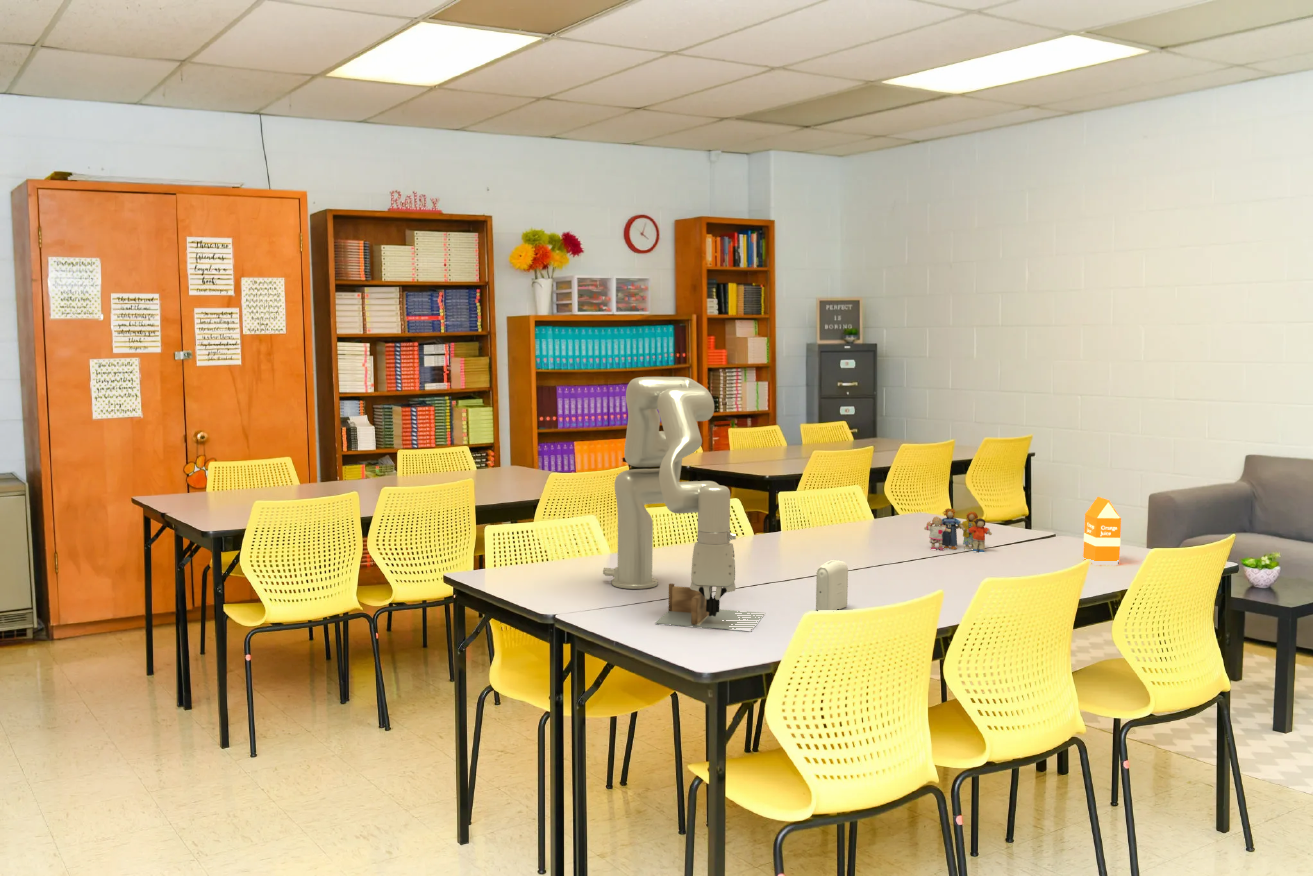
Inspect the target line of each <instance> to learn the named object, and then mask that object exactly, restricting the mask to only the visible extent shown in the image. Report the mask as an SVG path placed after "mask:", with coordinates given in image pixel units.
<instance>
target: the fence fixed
mask: <svg viewBox="0 0 1313 876" xmlns="http://www.w3.org/2000/svg"><path fill="white" fill-rule="evenodd" d="M710 591H711V595H712V596H713V587H710ZM699 593H700V592H699V591H695V590H692V589H690V586H677V585H676V586H675V583H668V605H667V609H668V610H667V612H668V611H675V612H688V613H691V607H692V598H693V597H695V596H696V595H697V594H699Z"/></svg>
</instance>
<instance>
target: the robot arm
mask: <svg viewBox="0 0 1313 876" xmlns="http://www.w3.org/2000/svg"><path fill="white" fill-rule="evenodd" d="M625 401H626V407H627V413H628V415H627V416H628V419H627V426H626V433H625V434H626V435H625V443H624V459H625V462H626V463H627V465H629V466H631V467H637V468H636V469H628V470H623V471H621V472H619V474H618V475H617V476H616V477H615V480H614V493H615V499H616V507H617V509H616V510H617V566H616V567H614V568H611V567H604V568H603V570H602V574H603V575H604V576H605V577H611V576H612V577H613V578H612V580H611V585H612V586H614V587H616V588H620V589H627V590H628V589H629V590H641V589H642V590H644V589H650V588H655V587H656V586H658V585H659V581H658V579H657V578H655V577H653V551H654V550H653V548H654V547H653V546H654V545H653V538H654V531H653V530H654V524H653V517H652V516H651V514H650V513H649V511H648V510H647V509H646V507H645V505H652V504H654V505H655V504H664V505H665V506H666V508H667V510H668V511H670V512H671V513H673V514H694V513H697V541H696V542H695V543H694V545H693V551H692V552H693V553H692V557H691V573H690V575H691V576H690V577H691V582H690V586H689V587H690V589H692V590H695V591H699V592H700V593H701V594H702V595H703V596H704V597H705V599H706V612H709V616H716V614H717V612H719V609H720V599H721V598H722V597H723V596H724V595H725V594H727V593H732V592H735V591H736V589H737V587H736V582H735V580H736V558H735V548H734V545H733V544H734V543H732V542H731V541H732V540H736V539H737V534H736V533H734V532H731V530H730V529H731V521H730V520H731V491H730V489H729V487H728V486H725V485H720V484H719V483H717V482H716V481H713V480H700V481H698V480H693V481H692V480H691V481H680V478H681V473H682V472H681V471H682V464H683V459H684V458H686V457H688V456H689V455H692V454H694V453H695V452H697V450H699V449H700V448H701V446H702V443H703V438H702V435H701V433H700V428H699V426H698V425H699V424H698V422H705V421H709V420H710V419H712V417H713V415H714V412H715V402H714V398H713V396H712V394H711V392H710V391H709V390H708V389H707V388H706V387H705V386H704V385H702V384H700V383H699V382H697V381H696V380H694V379H692V378H690V377H685V376H643V377H642V376H640V377H635V378H633V379H631V380H630V381H629V382H628V384H627V387H626V391H625ZM660 423H661V426H662V429H663V430H661V431H660ZM652 467H653V468H652ZM654 467H658V468H654ZM710 587H712V588H713V587H715V594H714V596H713V594H712V595H711V591H710Z"/></svg>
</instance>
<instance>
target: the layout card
mask: <svg viewBox="0 0 1313 876" xmlns="http://www.w3.org/2000/svg"><path fill="white" fill-rule="evenodd" d="M737 611H738V612H737ZM740 611H741V610H732V609H720V608H719V612H717V614H716V616H709V615H707V616H706V617H705V618H704V619H702V620H701V621H700V622H699V623H697V624H691V613H688V612H675V611H668V610H667V612H666V613H665V614H664V615H662V616H661V617H660V618H659V619H657V620H656V621H655V622H654V624H655V623H657V624H656V625H659V624H671V625H670V626H672V625H679V626H678V627H684V626H693V627H692V628H697V627H702V628H701V629H709V628H720V629H719V630H721V629H732V628H734V629H736V628H753V627H729V626H755V625H735V624H757V623H737V622H756V621H726V620H739V619H740V620H743V619H746V620H747V619H748V620H759V619H761V617H762V616H756V615H764V614H751V613H762V612H759V611H747V612H740ZM735 613H742V614H735ZM747 613H750V614H747ZM737 615H751V616H737ZM753 615H755V616H753ZM764 616H765V615H764ZM738 617H740V618H738ZM742 617H751V618H742ZM755 617H756V618H755ZM758 617H760V618H758ZM762 618H763V617H762ZM722 620H724V621H722ZM761 620H762V619H761ZM757 622H758V621H757ZM731 624H733V625H731ZM757 625H758V624H757ZM755 627H756V626H755Z"/></svg>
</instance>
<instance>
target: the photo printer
mask: <svg viewBox="0 0 1313 876" xmlns="http://www.w3.org/2000/svg"><path fill="white" fill-rule="evenodd" d="M815 580H816V583H815V587H816V588H815V589H816V590H815V611H817V610H836V611H838V610H837V609H839V610H842V609H844V608H846V607H847V606H848V591H849V590H848V587H849V586H848V585H849V582H848V581H849V567H848V565H847V563H846V562H845V561H842V560H838V559H837V560H836V559H831V560H828V561H826V562H824V563H823V564H822V565H820V566H819V567H818V569H817V570H816V579H815Z"/></svg>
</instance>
